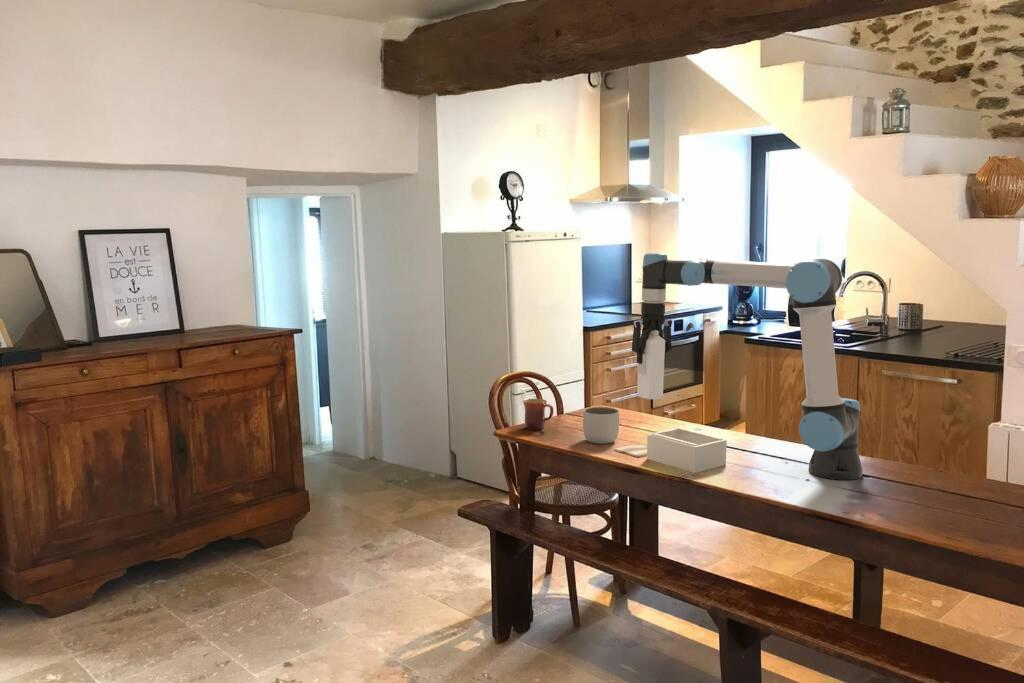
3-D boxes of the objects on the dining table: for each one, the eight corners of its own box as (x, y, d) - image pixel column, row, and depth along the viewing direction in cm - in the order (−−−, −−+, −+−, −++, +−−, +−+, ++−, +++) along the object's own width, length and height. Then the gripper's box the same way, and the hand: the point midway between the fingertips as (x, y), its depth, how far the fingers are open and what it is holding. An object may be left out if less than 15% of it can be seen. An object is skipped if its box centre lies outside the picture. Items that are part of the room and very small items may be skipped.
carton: (725, 465, 258) (726, 438, 257) (694, 473, 249) (695, 445, 248) (678, 451, 274) (678, 426, 272) (646, 458, 265) (647, 433, 264)
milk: (651, 394, 273) (653, 328, 270) (663, 398, 267) (666, 330, 264) (636, 396, 270) (639, 329, 267) (648, 399, 264) (651, 331, 261)
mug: (518, 429, 305) (518, 401, 303) (530, 424, 312) (530, 397, 311) (546, 433, 298) (546, 405, 297) (558, 428, 306) (558, 401, 304)
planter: (618, 446, 280) (618, 415, 278) (581, 445, 282) (581, 413, 280) (619, 437, 292) (620, 407, 291) (584, 436, 294) (584, 406, 292)
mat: (661, 452, 273) (662, 450, 273) (638, 457, 266) (638, 455, 266) (637, 445, 282) (637, 443, 281) (614, 450, 275) (614, 448, 275)
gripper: (671, 300, 271) (669, 369, 275) (621, 301, 264) (618, 372, 267) (685, 302, 265) (682, 373, 268) (633, 303, 257) (631, 376, 260)
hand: (650, 372), depth 267 cm, fingers closed on milk, 6 cm apart
